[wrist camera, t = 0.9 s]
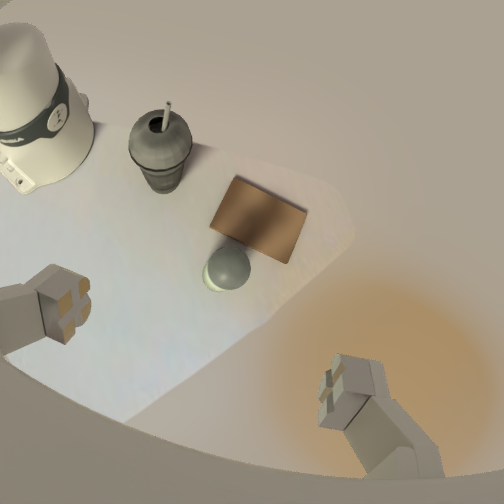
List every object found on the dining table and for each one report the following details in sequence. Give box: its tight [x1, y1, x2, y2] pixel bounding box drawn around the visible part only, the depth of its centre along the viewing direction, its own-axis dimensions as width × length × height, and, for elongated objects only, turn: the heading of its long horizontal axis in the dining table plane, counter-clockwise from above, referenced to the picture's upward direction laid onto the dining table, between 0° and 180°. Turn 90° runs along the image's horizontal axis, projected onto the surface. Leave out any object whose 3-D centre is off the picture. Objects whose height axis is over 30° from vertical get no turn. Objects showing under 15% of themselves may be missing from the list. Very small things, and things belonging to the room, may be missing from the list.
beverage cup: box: [129, 101, 192, 194], centre depth 35 cm, size 7×7×20 cm
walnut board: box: [210, 178, 307, 264], centre depth 46 cm, size 12×8×1 cm, turn 66°
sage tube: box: [202, 247, 251, 292], centre depth 39 cm, size 5×5×10 cm
